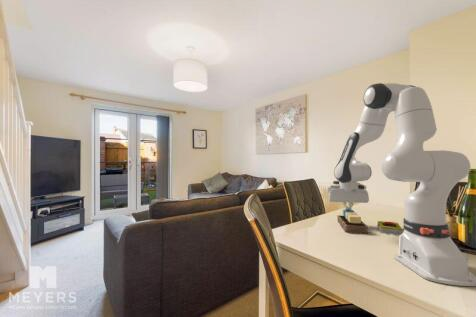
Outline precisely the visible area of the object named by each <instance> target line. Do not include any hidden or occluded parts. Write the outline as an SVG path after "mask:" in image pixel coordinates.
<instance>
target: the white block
mask: <svg viewBox="0 0 476 317" xmlns="http://www.w3.org/2000/svg"><path fill="white" fill-rule="evenodd" d="M348 215H358V213H357V212H355V211H354V212H345V218H346V219H347V220H348Z"/></svg>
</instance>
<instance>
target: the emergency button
mask: <svg viewBox="0 0 476 317" xmlns="http://www.w3.org/2000/svg"><path fill="white" fill-rule="evenodd" d="M376 227H377V229H378V231H379V232H380V234H386V235H395V236H400V235H401V234H402V233H403V229H402V227H401V225H400V224H399V223H398V222H394V221H383V220H377V223H376Z"/></svg>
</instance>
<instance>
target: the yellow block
mask: <svg viewBox="0 0 476 317" xmlns="http://www.w3.org/2000/svg"><path fill="white" fill-rule="evenodd" d="M348 221H349V222H350V223H353V224H356V223H361V221H362V216H360V215H359V214H357V215H348Z"/></svg>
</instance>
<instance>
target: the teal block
mask: <svg viewBox="0 0 476 317" xmlns="http://www.w3.org/2000/svg"><path fill="white" fill-rule="evenodd" d="M345 212H355V211H354V210H353V209H352V210H345V208H343V209H342V216H344V217H345Z"/></svg>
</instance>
